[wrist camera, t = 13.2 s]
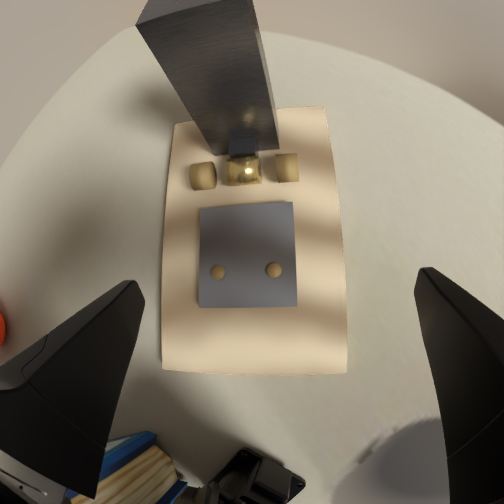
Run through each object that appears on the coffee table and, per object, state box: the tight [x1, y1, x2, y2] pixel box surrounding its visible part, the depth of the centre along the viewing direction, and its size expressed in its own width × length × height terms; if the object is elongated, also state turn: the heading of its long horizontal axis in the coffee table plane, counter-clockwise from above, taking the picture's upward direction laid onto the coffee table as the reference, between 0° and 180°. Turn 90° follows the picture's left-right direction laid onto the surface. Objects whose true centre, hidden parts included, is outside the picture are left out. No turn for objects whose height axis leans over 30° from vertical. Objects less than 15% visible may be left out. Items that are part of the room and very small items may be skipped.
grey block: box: [135, 0, 280, 186], centre depth 17 cm, size 6×6×14 cm
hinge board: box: [161, 106, 347, 376], centre depth 22 cm, size 22×14×3 cm, turn 1°
